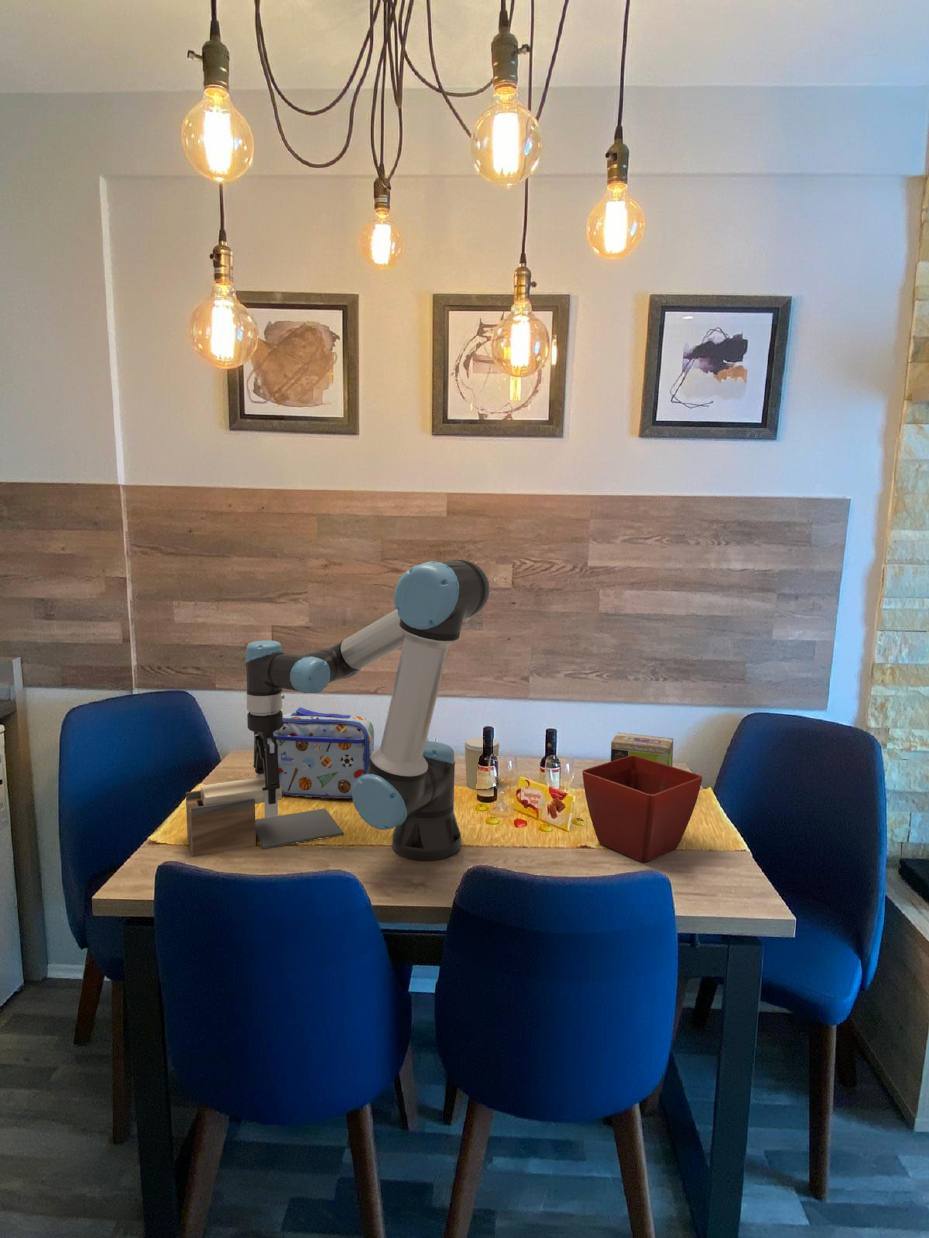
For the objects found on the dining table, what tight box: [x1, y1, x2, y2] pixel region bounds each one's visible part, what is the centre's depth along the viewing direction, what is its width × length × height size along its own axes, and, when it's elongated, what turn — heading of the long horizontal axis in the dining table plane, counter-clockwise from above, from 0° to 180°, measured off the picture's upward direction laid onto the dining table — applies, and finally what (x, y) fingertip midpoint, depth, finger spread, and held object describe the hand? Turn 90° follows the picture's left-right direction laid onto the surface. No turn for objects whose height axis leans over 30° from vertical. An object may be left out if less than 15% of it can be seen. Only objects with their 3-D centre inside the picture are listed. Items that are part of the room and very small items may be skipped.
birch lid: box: [200, 777, 283, 806], centre depth 166 cm, size 8×16×3 cm, turn 116°
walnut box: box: [185, 789, 257, 857], centre depth 165 cm, size 10×13×10 cm
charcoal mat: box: [255, 808, 345, 850], centre depth 173 cm, size 15×18×1 cm
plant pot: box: [582, 755, 703, 863], centre depth 167 cm, size 19×19×17 cm
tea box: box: [610, 732, 674, 767], centre depth 198 cm, size 15×10×15 cm, turn 69°
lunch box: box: [273, 707, 375, 799], centre depth 193 cm, size 28×10×22 cm, turn 84°
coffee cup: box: [463, 736, 500, 790], centre depth 202 cm, size 9×9×12 cm
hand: (266, 808), depth 169 cm, fingers open, 9 cm apart
